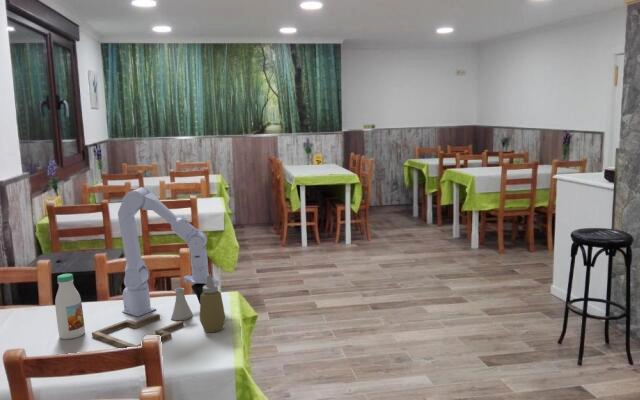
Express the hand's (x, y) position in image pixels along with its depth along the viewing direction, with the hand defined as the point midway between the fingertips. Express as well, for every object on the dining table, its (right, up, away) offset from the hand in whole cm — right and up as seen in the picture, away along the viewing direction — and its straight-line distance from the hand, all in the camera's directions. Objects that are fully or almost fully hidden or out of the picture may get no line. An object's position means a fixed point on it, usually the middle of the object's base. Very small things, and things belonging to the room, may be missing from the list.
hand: (202, 303), depth 198 cm
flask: (-6, -4, -7) cm, 10 cm away
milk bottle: (-38, -7, -18) cm, 43 cm away
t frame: (-15, -6, -20) cm, 25 cm away
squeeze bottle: (+8, -5, -20) cm, 21 cm away
